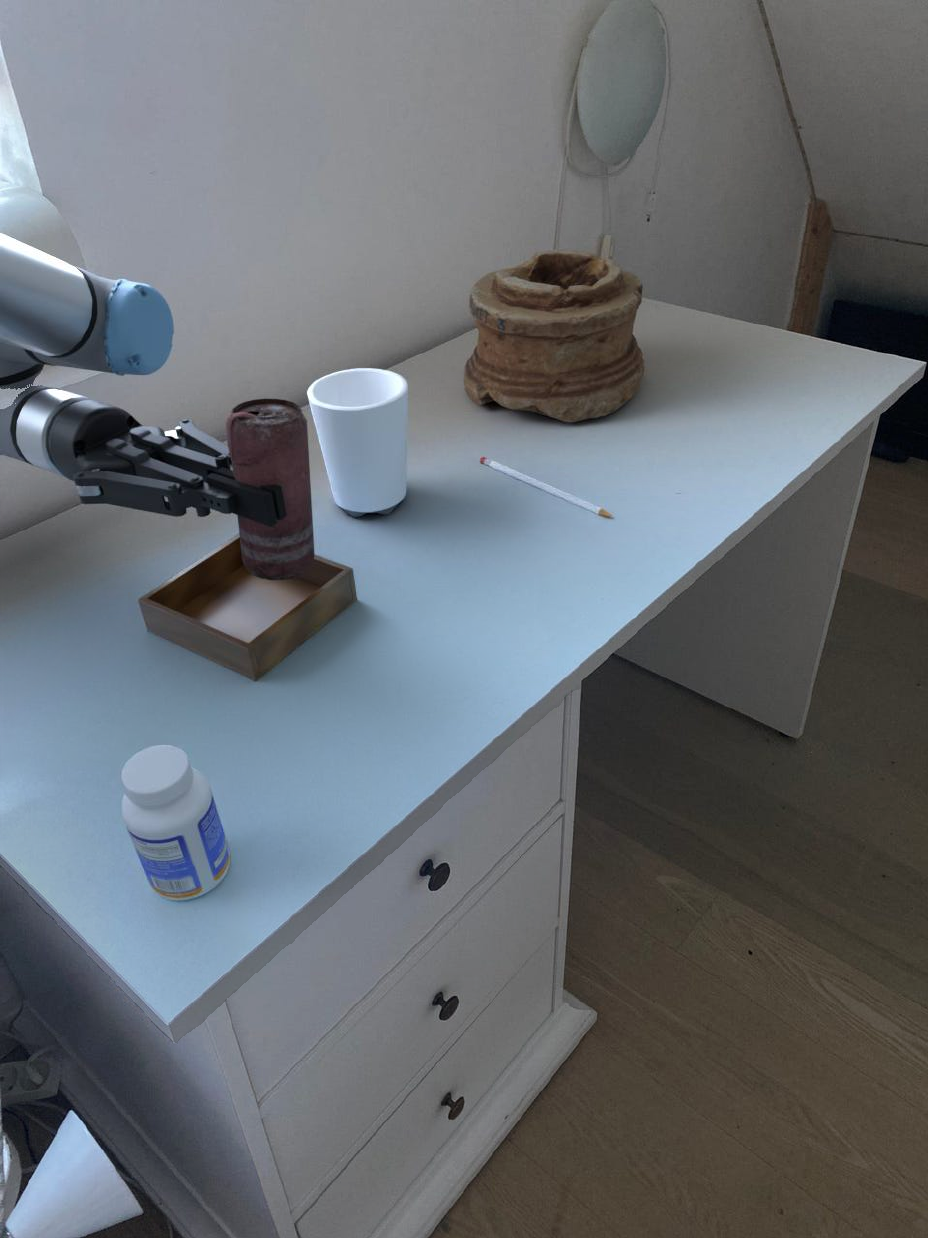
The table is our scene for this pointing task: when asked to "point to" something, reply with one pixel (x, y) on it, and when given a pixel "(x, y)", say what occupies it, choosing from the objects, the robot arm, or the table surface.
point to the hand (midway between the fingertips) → (275, 506)
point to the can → (274, 455)
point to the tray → (245, 609)
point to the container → (556, 336)
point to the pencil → (545, 487)
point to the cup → (363, 437)
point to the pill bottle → (173, 823)
